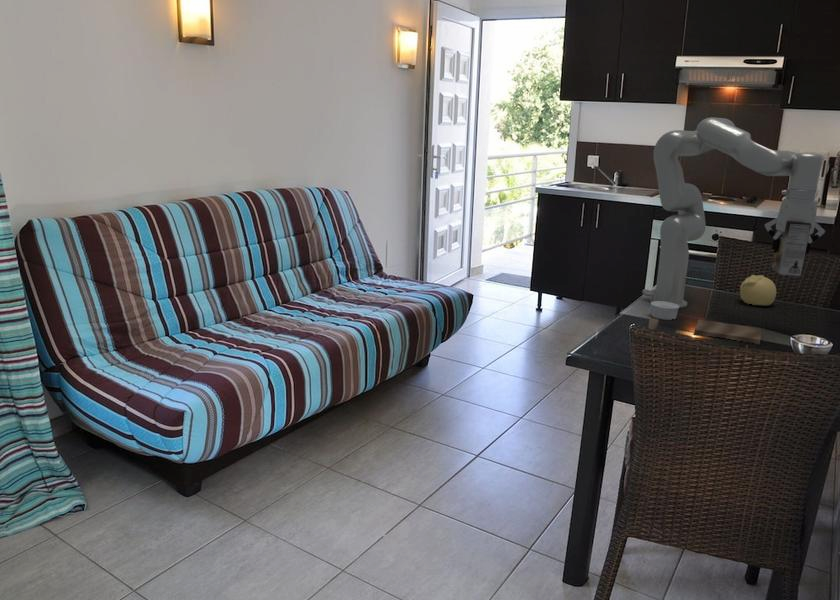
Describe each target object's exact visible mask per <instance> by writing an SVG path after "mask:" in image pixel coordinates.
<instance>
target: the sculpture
mask: <svg viewBox="0 0 840 600" xmlns="http://www.w3.org/2000/svg"><path fill="white" fill-rule="evenodd" d="M739 294H740V299H741V300H742V301H743V303H745V304H746V303H747V304H746V305H749V304H752V305H751V306H770V305H771V304H772V303H774V301H775V299H776V296H777V287H776V284H775V283H774V282H773V280H771V279H770V278H768V277H765V276H764V275H763V274H762V275H755V274H751V275H750V276H748V277H746V278H745V279H744V280H743V281H742V282H741V285H740V287H739Z"/></svg>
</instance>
